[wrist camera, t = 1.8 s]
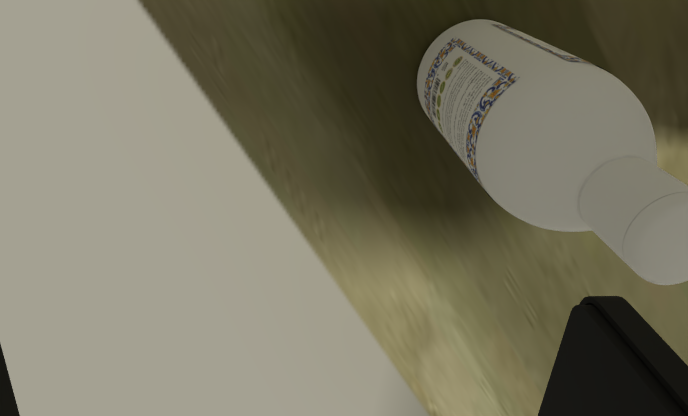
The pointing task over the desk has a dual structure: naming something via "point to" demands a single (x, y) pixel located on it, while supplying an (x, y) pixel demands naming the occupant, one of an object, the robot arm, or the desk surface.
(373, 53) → the desk surface
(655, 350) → the robot arm
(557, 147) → the bath foam
